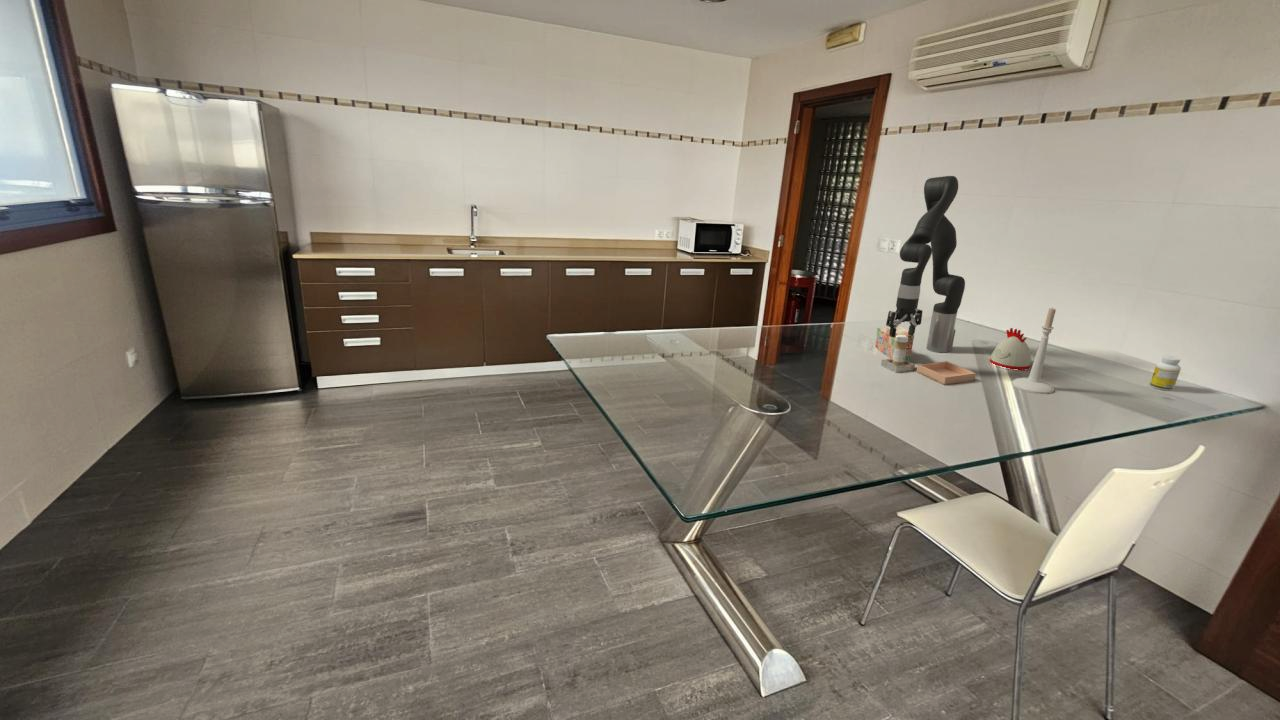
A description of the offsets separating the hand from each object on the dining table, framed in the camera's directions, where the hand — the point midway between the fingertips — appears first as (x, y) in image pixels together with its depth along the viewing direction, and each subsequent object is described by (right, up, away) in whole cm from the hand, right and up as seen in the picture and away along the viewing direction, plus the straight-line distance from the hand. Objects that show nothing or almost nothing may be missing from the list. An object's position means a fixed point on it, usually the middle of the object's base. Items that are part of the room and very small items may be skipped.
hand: (901, 336), depth 212 cm
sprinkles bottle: (0, -13, +5) cm, 14 cm away
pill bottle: (+86, -20, -18) cm, 90 cm away
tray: (+14, -16, -5) cm, 22 cm away
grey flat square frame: (0, -13, +4) cm, 13 cm away
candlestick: (+40, -20, -16) cm, 48 cm away
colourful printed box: (+5, -7, +20) cm, 22 cm away
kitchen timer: (+47, -12, +7) cm, 49 cm away
